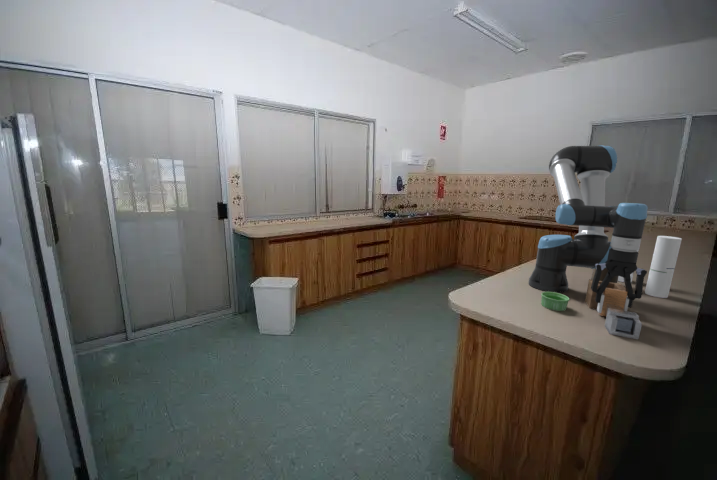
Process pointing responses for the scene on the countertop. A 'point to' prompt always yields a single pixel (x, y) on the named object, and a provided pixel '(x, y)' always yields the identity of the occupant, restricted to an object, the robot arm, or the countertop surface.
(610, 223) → the robot arm
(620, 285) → the socket
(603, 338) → the countertop surface
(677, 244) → the cylindrical container
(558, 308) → the ramekin
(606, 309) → the brown and grey block
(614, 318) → the sleeve
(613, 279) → the pillar candle
